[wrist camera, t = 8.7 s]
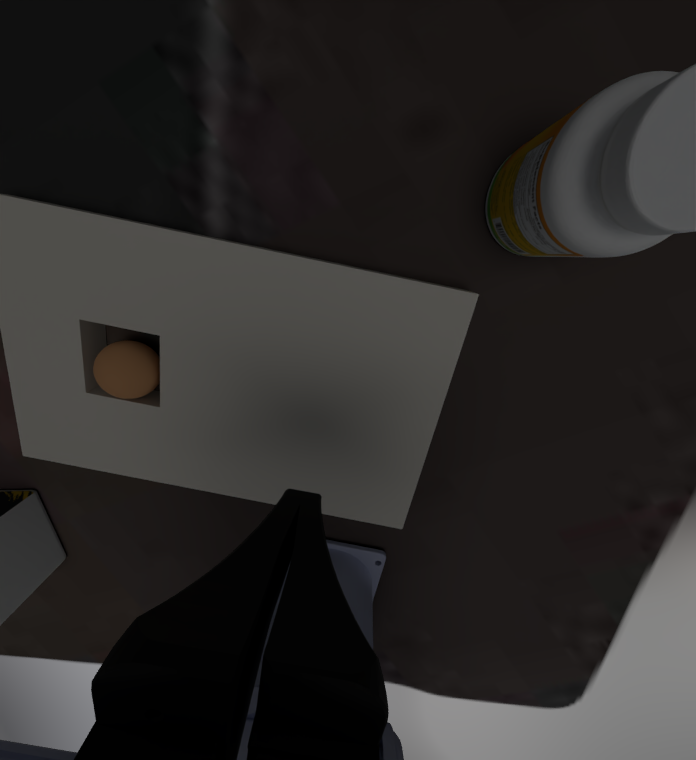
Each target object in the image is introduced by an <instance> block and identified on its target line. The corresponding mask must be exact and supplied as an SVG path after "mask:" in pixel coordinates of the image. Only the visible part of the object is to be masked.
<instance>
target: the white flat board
mask: <svg viewBox="0 0 696 760" xmlns="http://www.w3.org/2000/svg"><path fill="white" fill-rule="evenodd" d="M478 296H479V294H477V293H474V292H471V291H469V290H464V289H459V288H455V287H450V286H445V285H440V284H435V283H431V282H426V281H421V280H416V279H411V278H407V277H402V276H397V275H392V274H387V273H383V272H378V271H373V270H368V269H364V268H359V267H354V266H349V265H344V264H340V263H335V262H330V261H325V260H320V259H316V258H311V257H306V256H301V255H296V254H292V253H287V252H282V251H277V250H272V249H268V248H263V247H258V246H253V245H248V244H244V243H239V242H234V241H229V240H224V239H220V238H215V237H210V236H205V235H200V234H196V233H191V232H186V231H181V230H176V229H172V228H167V227H162V226H157V225H153V224H148V223H143V222H138V221H133V220H129V219H124V218H119V217H114V216H109V215H105V214H100V213H95V212H90V211H85V210H81V209H76V208H71V207H66V206H61V205H57V204H52V203H47V202H42V201H37V200H33V199H28V198H23V197H18V196H13V195H7V194H1V193H0V329H1V334H2V340H3V346H4V351H5V357H6V363H7V368H8V374H9V380H10V386H11V391H12V397H13V403H14V408H15V414H16V420H17V425H18V431H19V437H20V443H21V448H22V454H23V456H27V457H32V458H37V459H42V460H47V461H53V462H58V463H63V464H68V465H73V466H78V467H84V468H89V469H94V470H99V471H104V472H109V473H115V474H120V475H125V476H130V477H135V478H140V479H145V480H151V481H156V482H161V483H166V484H171V485H176V486H182V487H187V488H192V489H197V490H202V491H207V492H213V493H218V494H223V495H228V496H233V497H238V498H244V499H249V500H254V501H259V502H264V503H269V504H274V505H276V504H277V503H278V501H279V500H280V498H281V497H282V495H283V494H284V492H285V490H287V489H295V490H301V491H306V492H312V493H318V494H320V495H321V496H322V499H321V510H322V514H326V515H331V516H336V517H342V518H347V519H352V520H357V521H362V522H367V523H373V524H378V525H383V526H388V527H393V528H398V529H402V528H403V525H404V522H405V519H406V516H407V513H408V510H409V507H410V504H411V501H412V498H413V495H414V492H415V489H416V486H417V482H418V479H419V476H420V473H421V470H422V467H423V464H424V461H425V458H426V455H427V452H428V449H429V446H430V443H431V440H432V437H433V434H434V430H435V427H436V424H437V421H438V418H439V415H440V412H441V409H442V406H443V403H444V400H445V397H446V394H447V391H448V388H449V385H450V381H451V378H452V375H453V372H454V369H455V366H456V363H457V360H458V357H459V354H460V351H461V348H462V345H463V342H464V339H465V336H466V332H467V329H468V326H469V323H470V320H471V317H472V314H473V311H474V308H475V305H476V302H477V299H478ZM105 325H110V326H115V327H120V328H125V329H130V330H135V331H140V332H145V333H150V334H154V335H159V336H160V391H156V390H153V391H151V392H150V393H148V394H147V395H145V396H142V397H139V398H133V399H123V398H118V397H115V396H112V395H110V394H109V393H107V392H105V391H104V390H103V389H102V388H101V387H100V386H99V385H98V383H97V381H96V379H95V377H94V373H93V366H94V361H95V359H96V357H97V355H98V354H99V353H100V351H101V350H102V349H104V348H105V347H106V346H107V342H106V326H105Z"/></svg>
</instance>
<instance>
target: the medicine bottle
mask: <svg viewBox="0 0 696 760" xmlns="http://www.w3.org/2000/svg"><path fill="white" fill-rule="evenodd" d="M65 558H66V553H65V551H64V549H63V547H62V545H61V543H60V541H59V538H58V536H57V534H56V532H55V530H54V528H53V525H52V523H51V521H50V519H49V517H48V515H47V513H46V510H45V508H44V506H43V504H42V502H41V500H40V497H39V495H38V493H37V491H35V490H0V625H1V624H2V623H3V622H4V621H5V620H6V619H7V618H8V617H9V616H10V615H11V614H12V613H13V612H14V611H15V610H16V609H17V608H18V607H19V606H20V605H21V604H22V603H23V602H24V601H25V600H26V599H27V598H28V597H29V596H30V595H31V594H32V593H33V592H34V591H35V589H36V588H37V587H38V586H39V585H40V584H41V583H42V582H43V581H44V580H45V579H46V578H47V577H48V576H49V575H50V574H51V573H52V572H53V571H54V570H55V569H56V568H57V567H58V566H59V565H60V564H61V563H62V562H63V561H64V560H65Z"/></svg>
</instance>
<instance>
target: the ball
mask: <svg viewBox="0 0 696 760" xmlns="http://www.w3.org/2000/svg"><path fill="white" fill-rule="evenodd" d="M93 373H94V377H95V379H96V381H97V383H98V385H99V386H100V387H101V388H102V389H103V390H104V391H105V392H107V393H109V394H110V395H112V396H115V397H118V398H123V399H133V398H139V397H142V396H145V395H147V394H148V393H150V392H151V391H153V390H154V389H155V388H156V387H157V385H158V384H159V382H160V358H159V356H158V355H157V353H156V352H155V351H154V350H153V349H152V348H150V347H149V346H147V345H145V344H143V343H140V342H137V341H130V340H125V341H118V342H115V343H112V344H110V345H108V346H106V347H105V348H104V349H102V350H101V351H100V353H99V354H98V355H97V357H96V359H95V361H94V366H93Z"/></svg>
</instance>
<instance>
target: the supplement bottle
mask: <svg viewBox="0 0 696 760" xmlns="http://www.w3.org/2000/svg"><path fill="white" fill-rule="evenodd" d="M485 213H486V220H487V224H488V227H489V230H490V232H491V234H492V236H493V237H494V239H495V240H496V241H497V242H498V243H499V244H500V245H501V246H502V247H503V248H505V249H506V250H508V251H510V252H512V253H514V254H518V255H522V256H534V257H616V256H623V255H628V254H632V253H636V252H639V251H642V250H644V249H647V248H649V247H652V246H653V245H655V244H657V243H659V242H661V241H663V240H664V239H666V238H667V237H669V236H670V235H672V234H675V233H685V232H694V231H696V64H694V65H692V66H691V67H689V68H687V69H685V70H683V71H681V72H680V73H677V72H670V71H654V72H646V73H641V74H637V75H634V76H631V77H628V78H626V79H623V80H621V81H619V82H617V83H615V84H613V85H611V86H609V87H608V88H606V89H604V90H603V91H601V92H599V93H598V94H596V95H595V96H593V97H592V98H590V99H589V100H587V101H586V102H584V103H583V104H582V105H580V106H579V107H577V108H576V109H574V110H573V111H572V112H570V113H569V114H567V115H566V116H564V117H563V118H562V119H560V120H559V121H557V122H556V123H554V124H553V125H551V126H550V127H549V128H547V129H546V130H544V131H543V132H542V133H540V134H539V135H537V136H536V137H534V138H533V139H531V140H530V141H528V142H527V143H525V144H524V145H523V146H521V147H520V148H519V149H517V150H516V151H515V152H514V153H513V154H511V155H510V156H509V157H508V158H507V159H506V160H505V161H504V162H503V164H502V165H501V166H500V168H499V169H498V170H497V172H496V174H495V176H494V177H493V180H492V182H491V184H490V187H489V190H488V193H487V198H486V205H485Z"/></svg>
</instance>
